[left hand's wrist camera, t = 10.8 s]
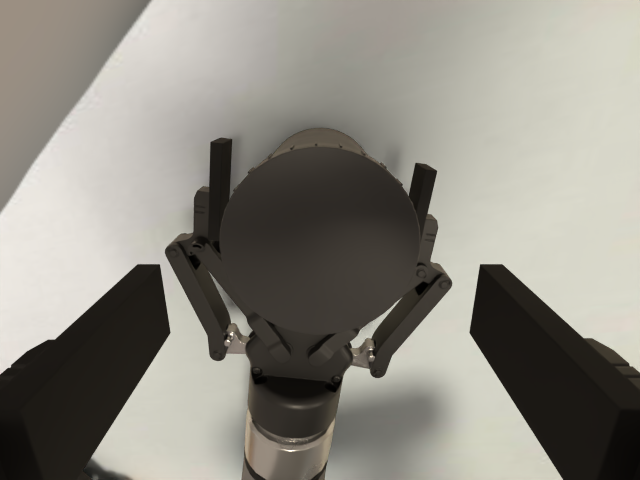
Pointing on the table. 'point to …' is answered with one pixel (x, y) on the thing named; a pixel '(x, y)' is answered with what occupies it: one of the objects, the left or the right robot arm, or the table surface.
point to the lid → (320, 239)
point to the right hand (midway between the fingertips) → (325, 152)
